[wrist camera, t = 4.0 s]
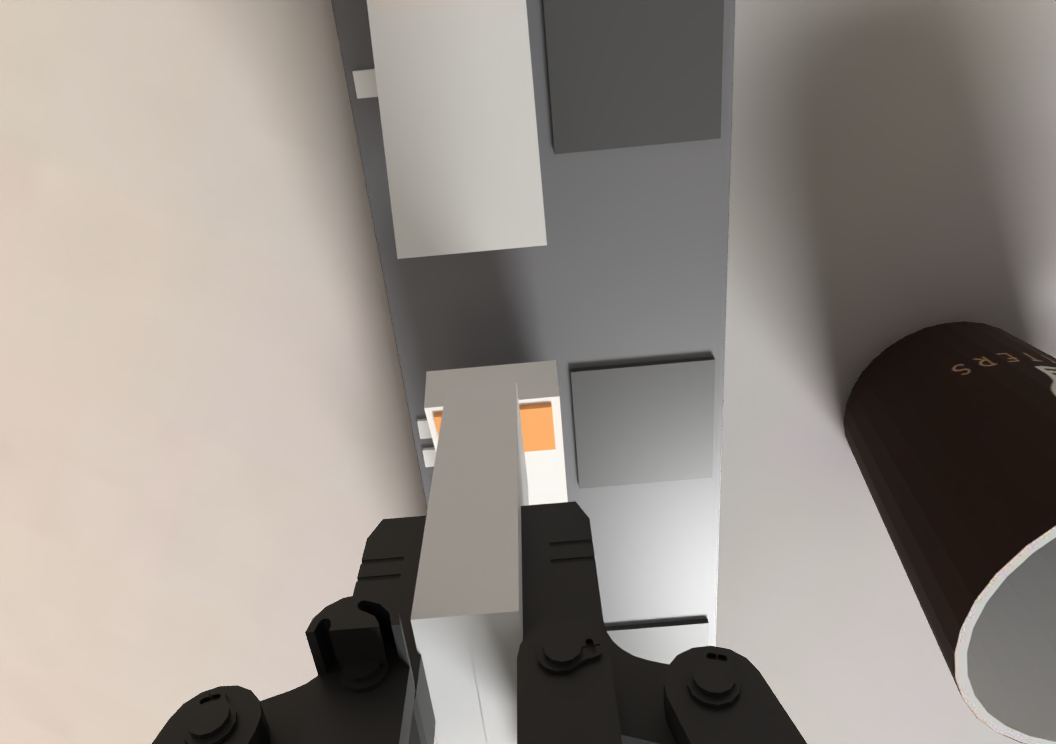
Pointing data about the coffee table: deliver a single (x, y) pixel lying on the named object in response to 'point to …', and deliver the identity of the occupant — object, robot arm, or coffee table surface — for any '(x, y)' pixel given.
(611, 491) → the power strip
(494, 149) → the block
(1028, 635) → the coffee mug
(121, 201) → the coffee table surface
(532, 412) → the rocker
